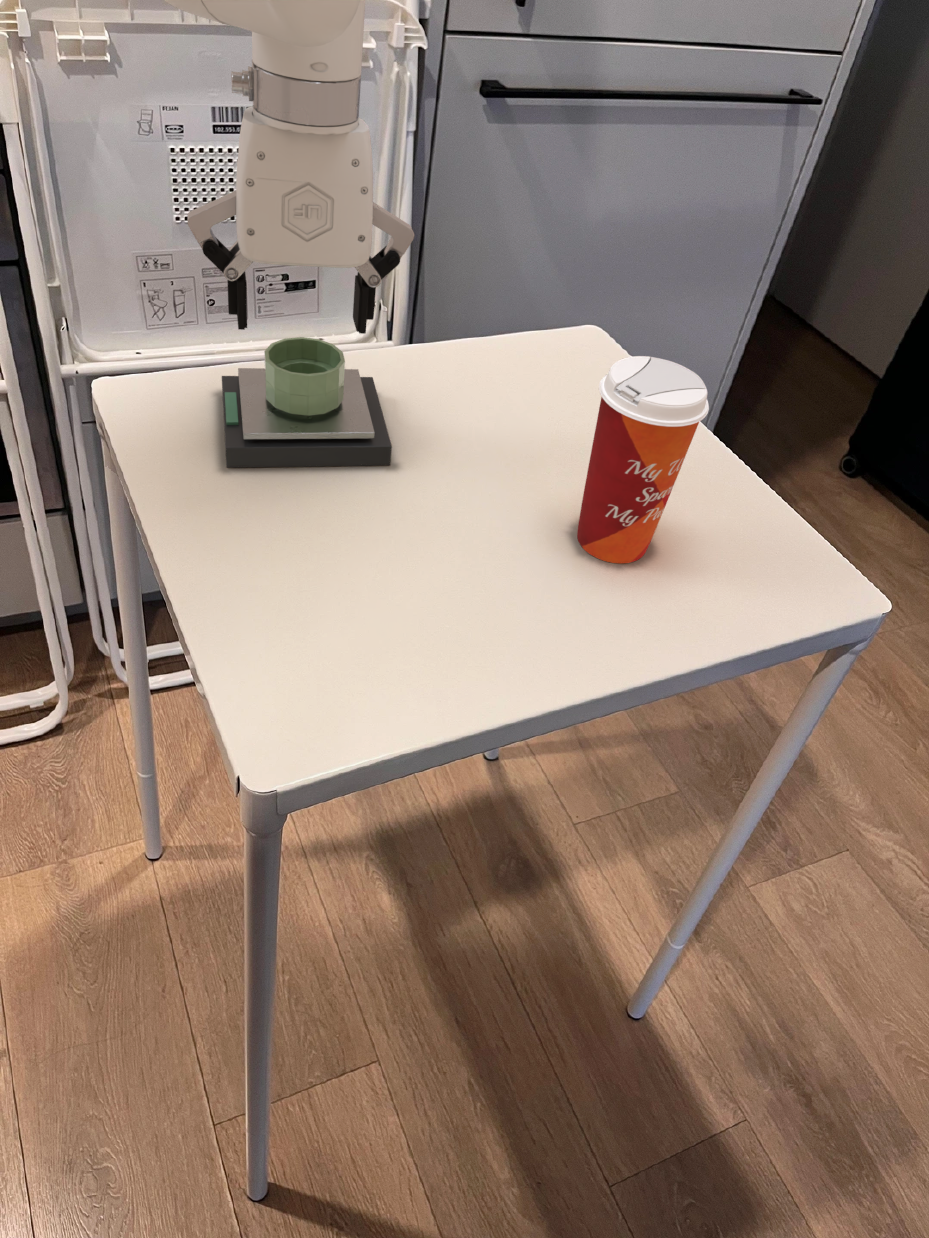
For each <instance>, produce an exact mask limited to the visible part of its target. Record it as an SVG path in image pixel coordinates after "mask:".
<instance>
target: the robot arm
mask: <svg viewBox="0 0 929 1238" xmlns="http://www.w3.org/2000/svg"><path fill="white" fill-rule="evenodd" d="M163 1H164V2H166V3H167V4H169V5H171V6H172V7H174V8H176V9H178V10H180V11H182V12H185V13H187V14H191V15H194V16H196V17H199V18H203V19H206V20H210V21H212V22H215V23H218V24H219V23H220V24H222V25H225V26H230V27H231V26H232V27H236V28H240V29H243V30H246V31H248V32H251V52H252V53H251V66H247V70H241V71H231V72H230V73H231V74H230V75H231V93H232V94H238V95H242V97H247V98H248V101H249V102H252V106H248V107H246V108H245V109H244V111H243V115H242V119H241V124H240V130H239V137H238V151H237V152H238V153H237V159H236V160H237V162H236V177H235V178H236V181H235V190H234V191H231V192H230V193H227V194H225V195H223V196H220V197H219V198H217V199H214V200H212V201H210V202H207V203H205V204H203V205H201V206H199V207H197V208H194V209H193V210H190V211H189V212H188V214H187V226H188V229H190V231H191V233H192V235H193V237H194V238H195V240H196V242H197V244H199V246H200V248H201V250H202V253H203V255H204V257H206V258H207V259H208V260H209V261H210V262H211V263H212V264H213V265H214V266H215V267H216V268H217V269H218V270H219V271H220V272H221V273H223V276H224V278H225V279H226V280H227V304H228V305H227V307H228V309H227V310H228V315H230V316H231V315H232V316H233V315H234V316H236V318H237V328H238V330H239V331H240V330H241V331H243V330H246V329H248V296H247V293H248V292H247V291H248V288H247V276H246V270H248V268H249V267H250V266H251V265H252V264H253V263H257V264H264V265H274V266H289V267H291V266H292V267H311V268H312V267H313V268H316V267H317V268H335V269H336V268H337V269H338V268H339V269H352V268H355V270H356V271H357V274H356V275H355V276H354V290H353V292H354V293H353V303H352V304H353V305H352V306H353V307H352V320H353V324H354V327H355V330H356V333H358V334H360V335H361V334H362V335H365V334H366V333H367V321H368V320H370V321H373V320H374V317H375V306H376V305H375V304H376V292H377V288H378V287H379V286H380V285H381V284H382V280H383V279H384V278H385V277H387V275H389V274H390V273H391V272H392V271H393V270H395V268H397V267H398V266H399V265H400V263H401V259H402V258H403V256H404V255H405V254H406V252H407V250H408V249H409V247H410V245H411V244H412V242H413V241H414V239H415V232H414V230H413V228H412V226H411V225H410V224H409V223H407V222H406V221H404V220H403V219H402V218H399V217H398V216H396V215H395V214H393V213H391V212H390V211H388V210H387V209H385V208H383V207H382V206H380V205H379V204H377V203H376V202H374V174H373V173H374V170H373V169H374V168H373V167H374V165H373V151H372V150H373V148H372V140H371V139H372V138H371V132H370V131H371V130H370V126H369V125H368V124H367V123H366V122H365V120H364V119H362V118H361V117H360V102H361V84H362V83H361V82H362V67H363V66H362V65H363V50H364V33H365V32H364V31H365V15H366V14H365V12H366V0H163ZM233 217H235V227H236V237H237V238H236V239H237V240H236V241H235V242H234V243H233V244H232V245H231V246H230V248H229V249H228V248H227V246H226V245H224V244H223V243H222V241H220V239H218V238H217V237H216V236H215V234H214V232H213V229H212V227H213V226H215V225H218V224H220V223H222V222H224V221H226V220H229V219H230V218H233ZM373 226H374V227H376V228H378V229H380V230H381V231H382V232H383V233H386V234H388V235H389V236H391V237H390V239H389V241H388V243H387V244H386V246H384V247H383V248H382V249H381V250H380V251H378V252H377V253H376V254H375V255H374V256H373V257H372V255H371V252H372V243H373Z"/></svg>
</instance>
